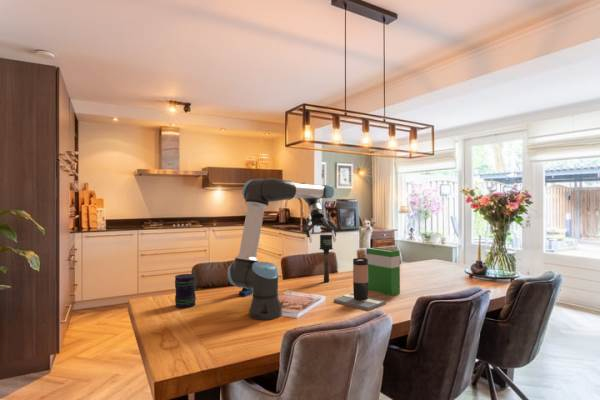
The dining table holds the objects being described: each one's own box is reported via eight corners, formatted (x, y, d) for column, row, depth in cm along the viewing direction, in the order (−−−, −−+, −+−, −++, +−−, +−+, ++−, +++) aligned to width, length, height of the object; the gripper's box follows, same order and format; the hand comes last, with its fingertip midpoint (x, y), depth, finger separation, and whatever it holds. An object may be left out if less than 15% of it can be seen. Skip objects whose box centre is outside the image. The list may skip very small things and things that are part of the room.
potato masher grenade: (322, 283, 220) (321, 235, 220) (318, 280, 228) (317, 234, 228) (335, 282, 222) (334, 235, 222) (330, 279, 230) (329, 234, 230)
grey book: (368, 310, 165) (368, 306, 165) (334, 301, 180) (333, 298, 180) (385, 303, 176) (385, 300, 176) (351, 296, 191) (351, 292, 191)
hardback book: (366, 289, 205) (366, 248, 205) (375, 287, 209) (374, 247, 209) (391, 295, 191) (391, 251, 191) (399, 293, 195) (399, 250, 195)
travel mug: (366, 296, 184) (366, 257, 184) (369, 300, 176) (369, 260, 176) (352, 296, 184) (351, 258, 184) (354, 300, 176) (354, 260, 176)
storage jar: (200, 304, 178) (199, 275, 178) (184, 309, 170) (184, 278, 170) (186, 301, 183) (186, 273, 183) (170, 306, 175) (170, 276, 175)
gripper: (335, 216, 214) (343, 244, 199) (295, 217, 209) (300, 245, 195) (337, 208, 209) (346, 236, 194) (296, 208, 204) (301, 237, 189)
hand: (323, 241), depth 194 cm, fingers open, 13 cm apart
